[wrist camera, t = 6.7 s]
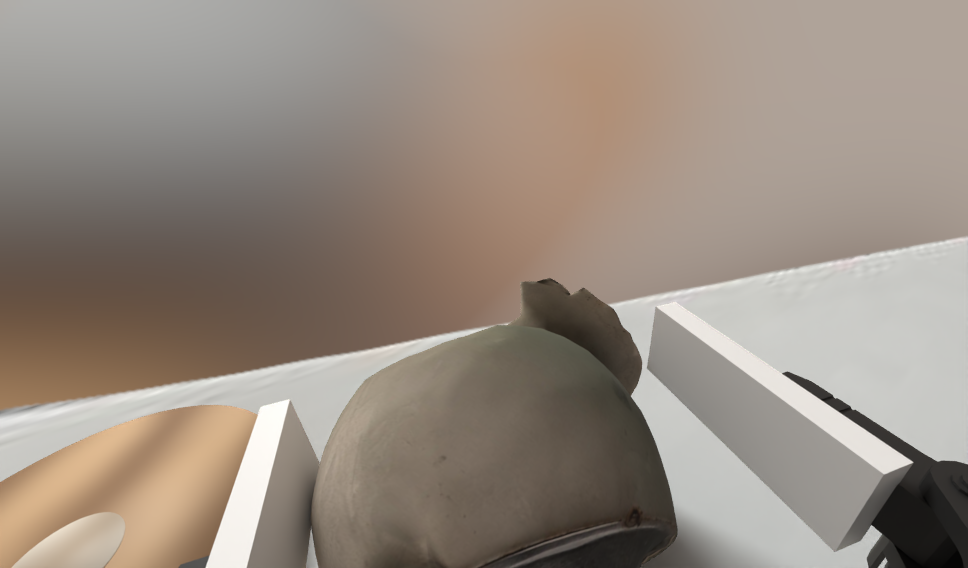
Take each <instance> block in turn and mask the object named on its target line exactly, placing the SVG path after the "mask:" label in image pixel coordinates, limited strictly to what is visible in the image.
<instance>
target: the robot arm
mask: <svg viewBox="0 0 968 568" xmlns="http://www.w3.org/2000/svg"><path fill="white" fill-rule="evenodd" d="M647 369H648V370H649V371H650V372H651V373H652V374H654V375H655V376H656V377H657V378H658V379H659V380H660V381H661V382H662V383H663V384H664V385H665V386H666V387H667V388H668V389H669V390H670V391H671V392H672V393H673V394H674V395H675V396H676V397H677V398H678V399H679V400H680V401H681V402H682V403H683V404H684V405H685V406H686V407H687V408H688V409H689V410H690V411H691V412H692V413H693V414H694V415H695V416H696V417H697V418H698V419H699V420H700V421H701V422H703V423H704V424H705V425H706V426H707V427H708V428H709V429H710V430H711V431H712V432H713V433H714V434H715V435H716V436H717V437H718V438H719V439H720V440H721V441H722V442H723V443H724V444H725V445H726V446H727V447H728V448H729V449H730V450H731V451H732V452H733V453H734V454H735V455H736V456H737V457H738V458H739V459H740V460H741V461H742V462H743V463H744V464H745V465H746V466H747V467H748V468H749V469H750V470H752V471H753V472H754V473H755V474H756V475H757V476H758V477H759V478H760V479H761V480H762V481H763V482H764V483H765V484H766V485H767V486H768V487H769V488H770V489H771V490H772V491H773V492H774V493H775V494H776V495H777V496H778V497H779V498H780V499H781V500H782V501H783V502H784V503H785V504H786V505H787V506H788V507H789V508H790V509H791V510H792V511H793V512H794V513H795V514H796V515H797V516H798V517H799V518H801V519H802V520H803V521H804V522H805V523H806V524H807V525H808V526H809V527H810V528H811V529H812V530H813V531H814V532H815V533H816V534H817V535H818V536H819V537H820V538H821V539H822V540H823V541H824V542H825V543H826V544H827V545H828V546H829V547H830V548H831V549H832V550H833V551H834V552H836V551H838V550H840V549H843V548H845V547H847V546H850V545H852V544H854V543H856V542H859V541H861V539H862V538H863V536H864V535H865V533H866V532H867V531H868V529H869V528H870V526H871V525H872V526H874V527H875V528H876V529H877V530H878V531H879V532H881V533H882V535H881V537H880V538H879V540H878V541H877V542H876V544H875V545H874V547H873V548H872V549H871V551H870V553H869V555H868V557H867V562H868V566H869V568H878V566H879V565H880V564H881V562H882V561H883V560H884V558H885V557H886V559H887V561H888V562H887V563H886V565H885V568H968V464H964V463H960V462H957V461H940V462H937V461H935V460H933V459H932V458H930V457H928V456H926V455H925V454H923V453H921V452H920V451H918V450H917V449H915V448H914V447H912V446H911V445H909V444H908V443H906V442H904V441H903V440H901V439H900V438H898V437H897V436H895V435H894V434H892V433H890V432H889V431H887V430H886V429H884V428H883V427H881V426H880V425H878V424H877V423H875V422H873V421H872V420H870V419H869V418H867V417H866V416H864V415H863V414H861V413H860V412H858V411H856V410H852V409H851V407H850V406H849V405H847V404H846V403H844V402H843V401H841V400H839V399H838V398H836V399H835V398H834V397H833V395H832V394H830V393H829V392H827V391H825V390H824V389H822V388H821V387H819V386H818V385H816V384H815V383H813V382H811V381H809V380H807V379H804V378H802V377H799V376H797V375H795V374H792V373H790V372H785V373H780V372H779V371H777V370H776V369H774V368H773V367H771V366H770V365H768V364H767V363H765V362H764V361H762V360H761V359H759V358H758V357H756V356H755V355H753V354H752V353H750V352H749V351H747V350H746V349H744V348H743V347H741V346H740V345H738V344H737V343H735V342H734V341H733V340H731V339H730V338H728V337H727V336H725V335H724V334H722V333H721V332H719V331H718V330H716V329H715V328H713V327H712V326H710V325H709V324H707V323H706V322H704V321H703V320H701V319H700V318H698V317H697V316H695V315H694V314H692V313H691V312H689V311H688V310H687V309H685V308H684V307H682V306H681V305H679V304H678V303H676V302H672V303H668V304H664V305H660V306H656V309H655V316H654V323H653V330H652V338H651V345H650V352H649V359H648V366H647ZM318 468H319V461H318V459H317V457H316V454H315V452H314V450H313V448H312V446H311V444H310V442H309V439H308V437H307V435H306V433H305V431H304V429H303V427H302V424H301V422H300V420H299V418H298V416H297V414H296V411H295V409H294V407H293V405H292V403H291V401H290V399H289V400H285V401H281V402H277V403H273V404H269V405H265V406H261V408H260V411H259V413H258V416H257V419H256V422H255V425H254V428H253V431H252V434H251V437H250V440H249V443H248V445H247V448H246V451H245V454H244V457H243V460H242V463H241V466H240V469H239V472H238V475H237V478H236V480H235V483H234V486H233V489H232V492H231V495H230V498H229V501H228V504H227V507H226V510H225V512H224V515H223V518H222V521H221V524H220V527H219V530H218V533H217V536H216V539H215V542H214V544H213V547H212V550H211V553H210V555H209V556H206V557H203V558H200V559H196V560H193V561H190V562H187V563H184V564H181V565H180V566H179V568H306V560H307V553H308V545H309V538H310V530H311V521H310V516H311V507H312V498H313V491H314V486H315V482H316V477H317V473H318Z"/></svg>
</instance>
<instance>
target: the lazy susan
mask: <svg viewBox="0 0 968 568" xmlns="http://www.w3.org/2000/svg"><path fill="white" fill-rule="evenodd" d="M257 416H258V415H257V414H255V413H252V412H250V411H248V410H245V409H241V408H237V407H232V406H222V405H199V406H191V407H183V408H177V409H172V410H168V411H163V412H159V413H155V414H151V415H148V416H144V417H140V418H137V419H134V420H131V421H128V422H126V423H123V424H120V425H117V426H114V427H112V428H109V429H107V430H104V431H102V432H99V433H97V434H94V435H91V436H89V437H87V438H85V439H83V440H80V441H78V442H76V443H74V444H72V445H69V446H67V447H65V448H63V449H61V450H59V451H57V452H55V453H53V454H51V455H49V456H47V457H45V458H43V459H41V460H39V461H37V462H35V463H34V464H32V465H30V466H28V467H26V468H25V469H23V470H21V471H19V472H17V473H16V474H14V475H12V476H10V477H9V478H7V479H5V480H3V481H2V482H0V568H179V566H180V565H181V564H184V563H187V562H190V561H193V560H196V559H200V558H203V557H206V556H209V555H210V553H211V550H212V547H213V544H214V542H215V539H216V536H217V533H218V530H219V527H220V524H221V521H222V518H223V515H224V512H225V510H226V507H227V504H228V501H229V498H230V495H231V492H232V489H233V486H234V483H235V480H236V478H237V475H238V472H239V469H240V466H241V463H242V460H243V457H244V454H245V451H246V448H247V445H248V443H249V440H250V437H251V434H252V431H253V428H254V425H255V422H256V419H257Z"/></svg>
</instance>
